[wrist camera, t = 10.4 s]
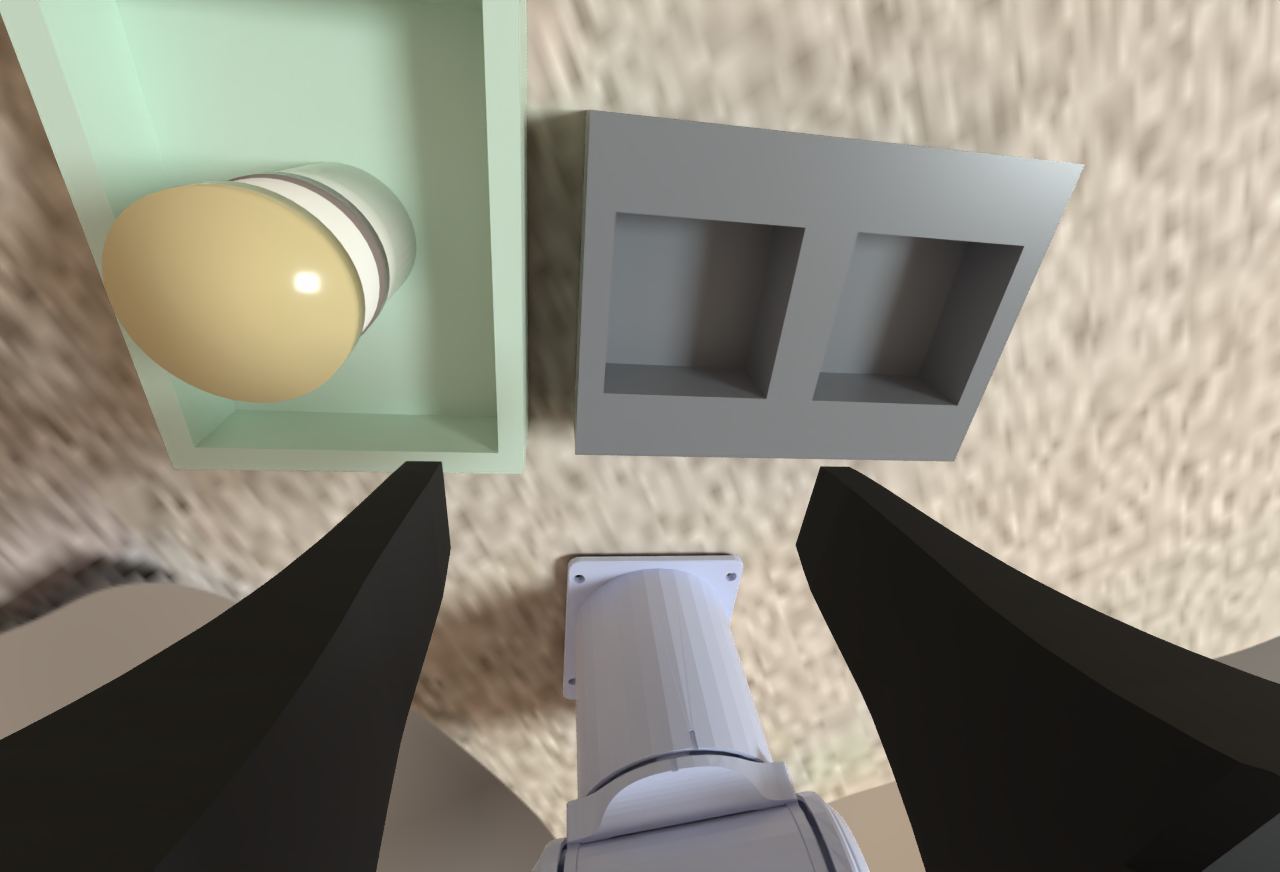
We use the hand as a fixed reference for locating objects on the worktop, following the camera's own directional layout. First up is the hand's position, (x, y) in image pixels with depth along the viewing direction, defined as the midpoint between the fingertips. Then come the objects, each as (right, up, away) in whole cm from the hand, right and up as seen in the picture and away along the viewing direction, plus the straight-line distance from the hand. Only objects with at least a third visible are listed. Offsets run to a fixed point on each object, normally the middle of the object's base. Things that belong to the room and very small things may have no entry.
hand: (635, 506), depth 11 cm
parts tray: (-9, +8, +6) cm, 13 cm away
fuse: (-9, +7, +6) cm, 13 cm away
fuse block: (+5, +6, +9) cm, 12 cm away
